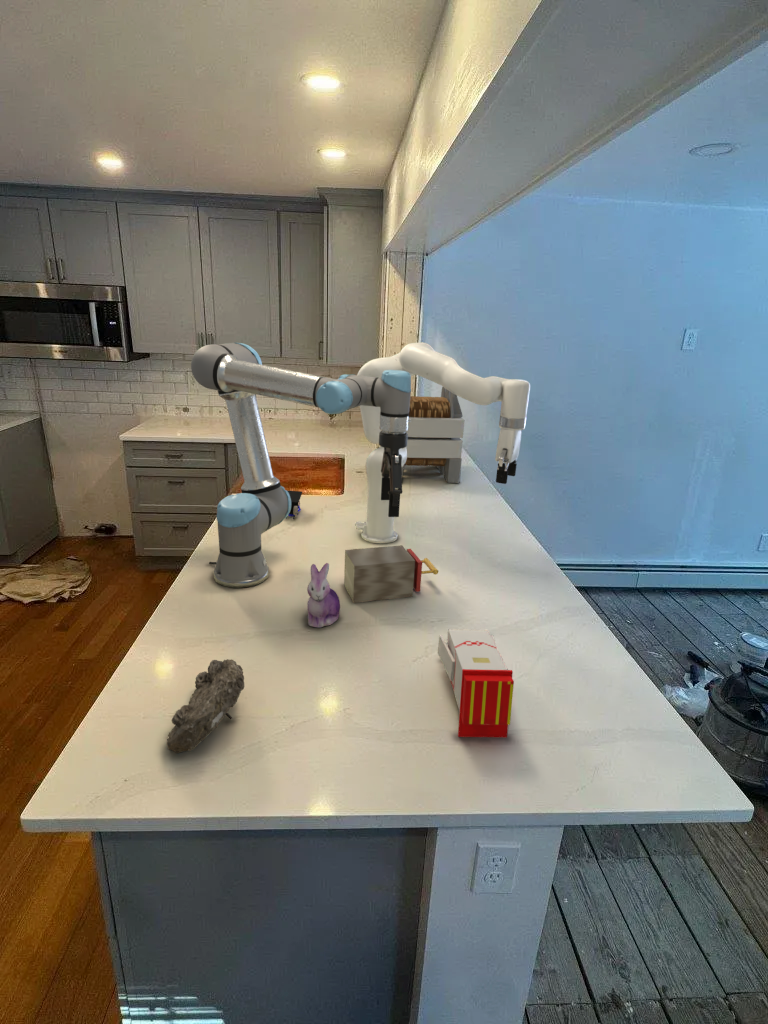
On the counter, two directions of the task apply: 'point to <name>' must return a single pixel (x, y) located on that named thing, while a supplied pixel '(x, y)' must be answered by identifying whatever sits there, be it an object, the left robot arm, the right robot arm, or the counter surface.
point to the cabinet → (378, 573)
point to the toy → (478, 682)
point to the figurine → (321, 599)
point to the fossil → (206, 705)
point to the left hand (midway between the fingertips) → (389, 507)
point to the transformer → (436, 434)
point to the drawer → (420, 569)
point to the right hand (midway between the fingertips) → (505, 479)
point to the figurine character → (294, 503)
